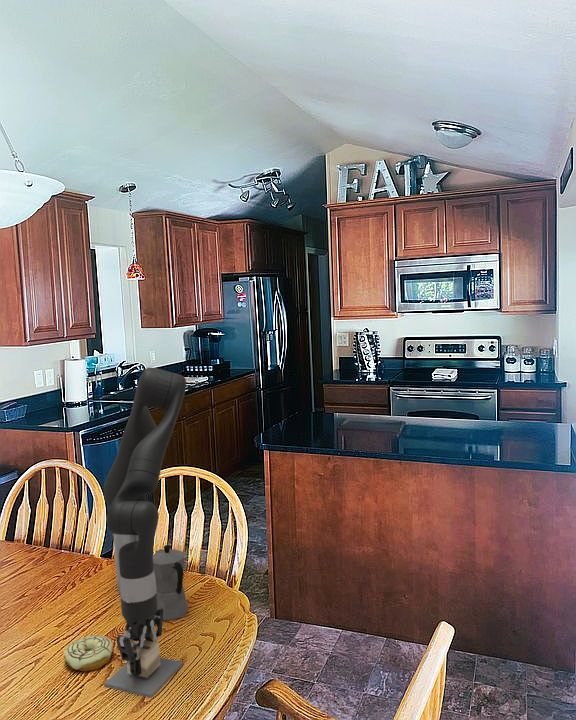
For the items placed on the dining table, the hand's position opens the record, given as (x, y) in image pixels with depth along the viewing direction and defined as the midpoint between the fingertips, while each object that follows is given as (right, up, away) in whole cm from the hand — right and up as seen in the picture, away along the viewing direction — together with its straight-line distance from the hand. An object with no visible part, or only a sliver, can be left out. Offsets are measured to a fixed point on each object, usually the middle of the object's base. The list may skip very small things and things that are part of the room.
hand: (144, 666), depth 135 cm
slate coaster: (0, -2, 0) cm, 2 cm away
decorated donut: (-14, -2, +7) cm, 16 cm away
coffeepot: (+1, +1, +26) cm, 26 cm away
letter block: (0, 0, 0) cm, 1 cm away
